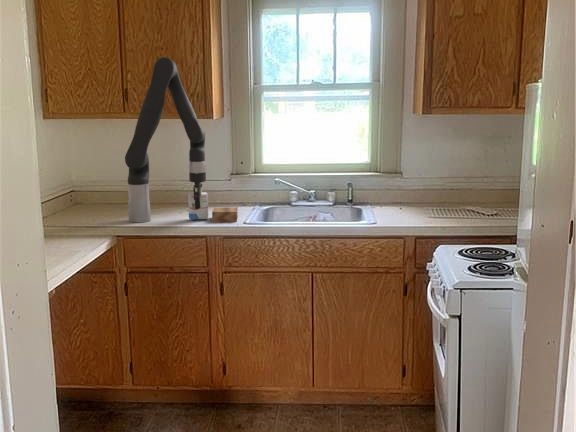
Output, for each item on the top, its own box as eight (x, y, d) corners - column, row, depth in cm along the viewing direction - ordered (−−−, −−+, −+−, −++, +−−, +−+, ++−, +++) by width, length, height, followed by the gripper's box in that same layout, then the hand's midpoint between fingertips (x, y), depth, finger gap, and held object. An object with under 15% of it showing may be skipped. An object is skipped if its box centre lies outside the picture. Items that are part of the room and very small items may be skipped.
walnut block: (212, 222, 263) (212, 212, 262) (214, 218, 274) (214, 207, 273) (236, 222, 264) (236, 211, 263) (237, 217, 274) (237, 207, 273)
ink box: (189, 219, 264) (189, 194, 262) (188, 217, 269) (188, 192, 267) (208, 218, 267) (208, 193, 264) (207, 216, 271) (206, 191, 269)
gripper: (191, 169, 270) (192, 204, 274) (187, 173, 256) (188, 210, 260) (207, 169, 271) (207, 204, 274) (204, 173, 257) (205, 210, 260)
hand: (198, 207), depth 267 cm, fingers closed on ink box, 5 cm apart
